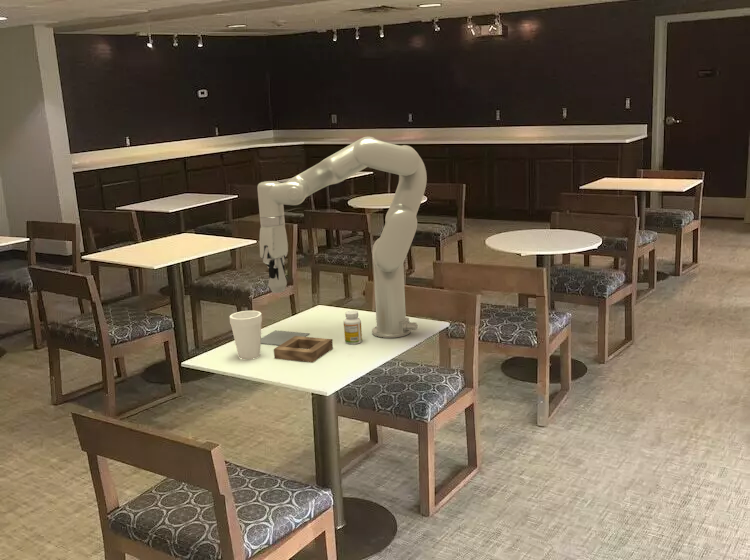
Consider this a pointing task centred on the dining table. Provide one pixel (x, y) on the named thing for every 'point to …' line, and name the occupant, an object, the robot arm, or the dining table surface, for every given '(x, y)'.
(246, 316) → the foam cup
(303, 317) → the dining table surface
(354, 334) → the supplement bottle
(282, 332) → the grey mat
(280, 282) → the salt shaker
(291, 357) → the block
